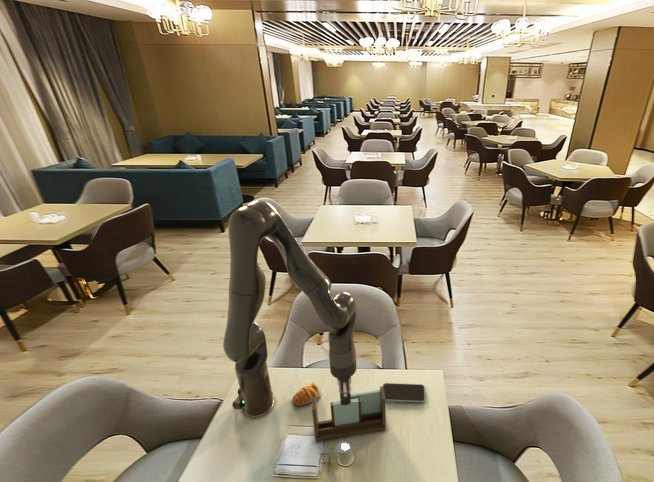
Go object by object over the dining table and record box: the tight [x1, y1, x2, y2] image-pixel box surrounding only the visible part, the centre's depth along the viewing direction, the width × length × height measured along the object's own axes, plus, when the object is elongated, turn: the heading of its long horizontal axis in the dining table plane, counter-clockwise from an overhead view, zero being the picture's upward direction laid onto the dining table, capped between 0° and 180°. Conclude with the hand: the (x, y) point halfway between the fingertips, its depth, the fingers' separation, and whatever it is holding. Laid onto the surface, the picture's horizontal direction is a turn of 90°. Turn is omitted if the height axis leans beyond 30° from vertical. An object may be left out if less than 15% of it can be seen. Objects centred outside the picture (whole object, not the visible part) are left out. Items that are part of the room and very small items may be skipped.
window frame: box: [311, 385, 387, 443], centre depth 110 cm, size 6×22×14 cm, turn 102°
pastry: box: [291, 382, 322, 407], centre depth 123 cm, size 9×7×4 cm
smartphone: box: [382, 382, 426, 404], centre depth 126 cm, size 7×1×15 cm
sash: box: [330, 391, 362, 427], centre depth 109 cm, size 2×9×15 cm, turn 102°
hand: (345, 400), depth 108 cm, fingers closed on sash, 2 cm apart
